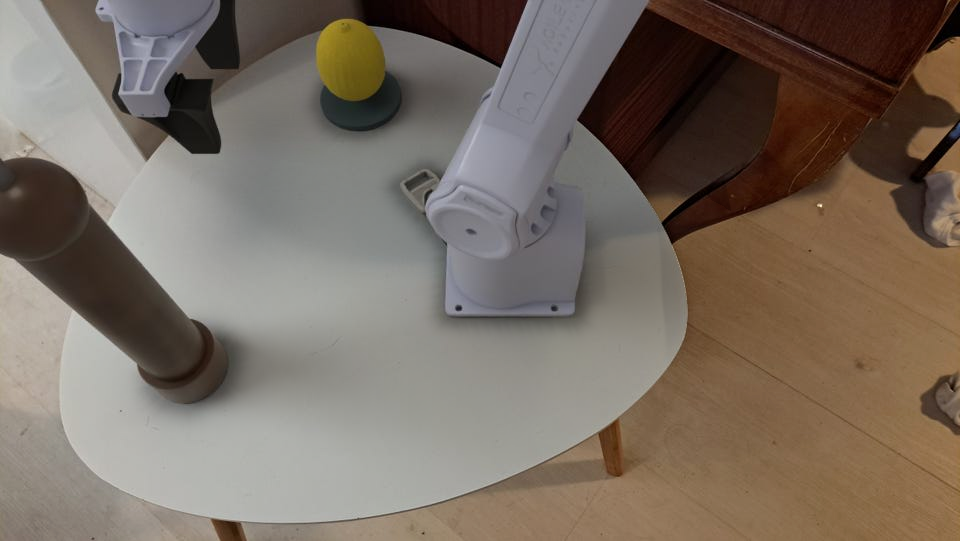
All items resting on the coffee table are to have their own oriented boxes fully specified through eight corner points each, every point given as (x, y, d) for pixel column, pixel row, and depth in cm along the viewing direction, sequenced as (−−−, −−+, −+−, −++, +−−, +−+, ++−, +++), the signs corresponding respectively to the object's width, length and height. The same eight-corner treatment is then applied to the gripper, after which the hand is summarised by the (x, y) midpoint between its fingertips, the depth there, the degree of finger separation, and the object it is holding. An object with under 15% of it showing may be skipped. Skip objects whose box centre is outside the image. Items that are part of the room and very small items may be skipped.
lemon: (381, 124, 61) (367, 54, 54) (318, 114, 62) (296, 44, 55) (397, 76, 64) (386, 3, 57) (337, 67, 64) (319, -6, 57)
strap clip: (397, 189, 59) (390, 157, 55) (428, 171, 60) (423, 138, 56) (457, 262, 56) (454, 233, 52) (488, 242, 57) (488, 212, 53)
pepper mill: (234, 335, 53) (63, 115, 32) (221, 403, 50) (26, 215, 29) (163, 334, 53) (-55, 116, 32) (147, 403, 50) (-101, 215, 29)
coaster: (403, 69, 65) (402, 65, 65) (398, 131, 62) (398, 126, 61) (325, 70, 65) (324, 65, 65) (316, 131, 62) (315, 126, 61)
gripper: (93, -145, 43) (180, 32, 54) (16, 32, 36) (135, 191, 48) (213, -146, 42) (274, 31, 54) (158, 31, 36) (242, 191, 47)
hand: (216, 106), depth 51 cm, fingers open, 7 cm apart
